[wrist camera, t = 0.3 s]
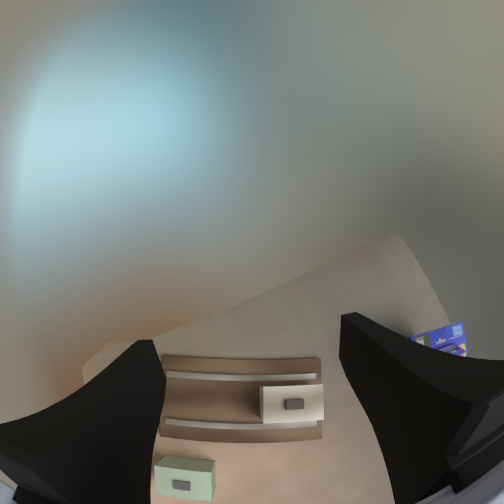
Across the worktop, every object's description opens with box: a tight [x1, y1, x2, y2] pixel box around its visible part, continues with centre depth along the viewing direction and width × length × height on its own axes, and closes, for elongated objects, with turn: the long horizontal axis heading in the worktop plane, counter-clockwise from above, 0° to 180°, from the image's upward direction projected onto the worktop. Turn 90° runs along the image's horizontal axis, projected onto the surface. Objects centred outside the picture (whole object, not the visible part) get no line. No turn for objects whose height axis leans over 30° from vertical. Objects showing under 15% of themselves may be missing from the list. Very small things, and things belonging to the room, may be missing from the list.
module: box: [154, 456, 216, 502], centre depth 26 cm, size 4×7×7 cm, turn 90°
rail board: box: [160, 355, 324, 443], centre depth 31 cm, size 12×22×8 cm, turn 90°
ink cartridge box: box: [406, 322, 468, 357], centre depth 31 cm, size 10×6×14 cm, turn 95°
